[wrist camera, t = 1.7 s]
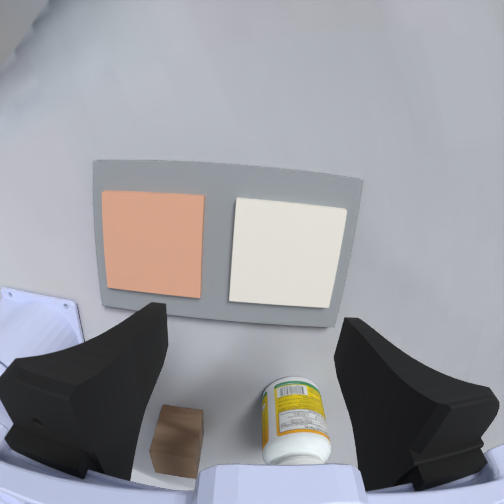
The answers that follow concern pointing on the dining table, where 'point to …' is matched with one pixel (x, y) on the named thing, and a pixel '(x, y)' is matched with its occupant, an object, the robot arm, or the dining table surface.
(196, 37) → the dining table surface
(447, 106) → the dining table surface
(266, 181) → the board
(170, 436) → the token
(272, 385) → the supplement bottle
